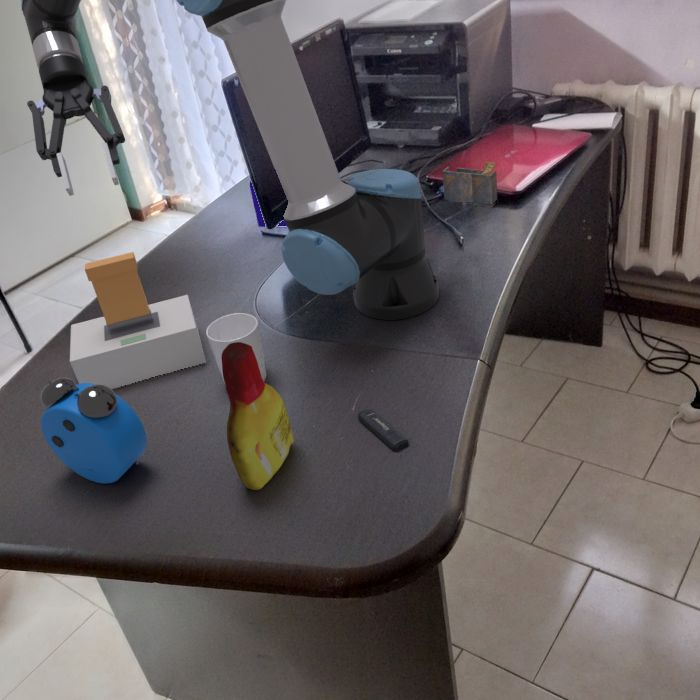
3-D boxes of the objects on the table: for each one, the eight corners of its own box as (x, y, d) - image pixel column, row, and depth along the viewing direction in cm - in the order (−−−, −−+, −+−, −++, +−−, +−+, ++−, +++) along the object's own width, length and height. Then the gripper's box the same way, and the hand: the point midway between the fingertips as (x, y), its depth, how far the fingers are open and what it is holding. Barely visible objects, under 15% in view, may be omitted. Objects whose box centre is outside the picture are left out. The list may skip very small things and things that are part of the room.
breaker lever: (108, 327, 121) (85, 263, 116) (153, 315, 122) (133, 251, 117) (108, 334, 119) (84, 269, 113) (154, 321, 120) (133, 257, 114)
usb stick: (411, 446, 99) (409, 438, 98) (395, 455, 98) (394, 447, 97) (371, 413, 106) (370, 405, 105) (356, 421, 105) (355, 413, 104)
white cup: (230, 401, 112) (215, 347, 106) (214, 376, 118) (199, 324, 112) (277, 382, 114) (265, 328, 109) (259, 359, 120) (246, 307, 115)
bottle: (269, 502, 93) (235, 376, 82) (225, 495, 95) (185, 371, 84) (304, 440, 102) (277, 319, 91) (263, 435, 104) (232, 316, 93)
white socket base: (84, 358, 128) (70, 324, 124) (197, 328, 131) (187, 294, 127) (84, 396, 118) (69, 361, 114) (206, 362, 122) (195, 327, 118)
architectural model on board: (498, 204, 159) (497, 161, 154) (492, 209, 157) (491, 166, 152) (450, 198, 165) (448, 156, 159) (444, 204, 163) (442, 162, 157)
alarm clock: (160, 465, 102) (127, 378, 93) (131, 496, 97) (95, 408, 89) (89, 446, 107) (52, 363, 99) (59, 475, 103) (18, 391, 94)
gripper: (122, 68, 131) (155, 183, 127) (9, 91, 128) (38, 209, 124) (114, 41, 124) (148, 162, 120) (-6, 65, 121) (24, 190, 116)
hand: (92, 186), depth 122 cm, fingers open, 7 cm apart
